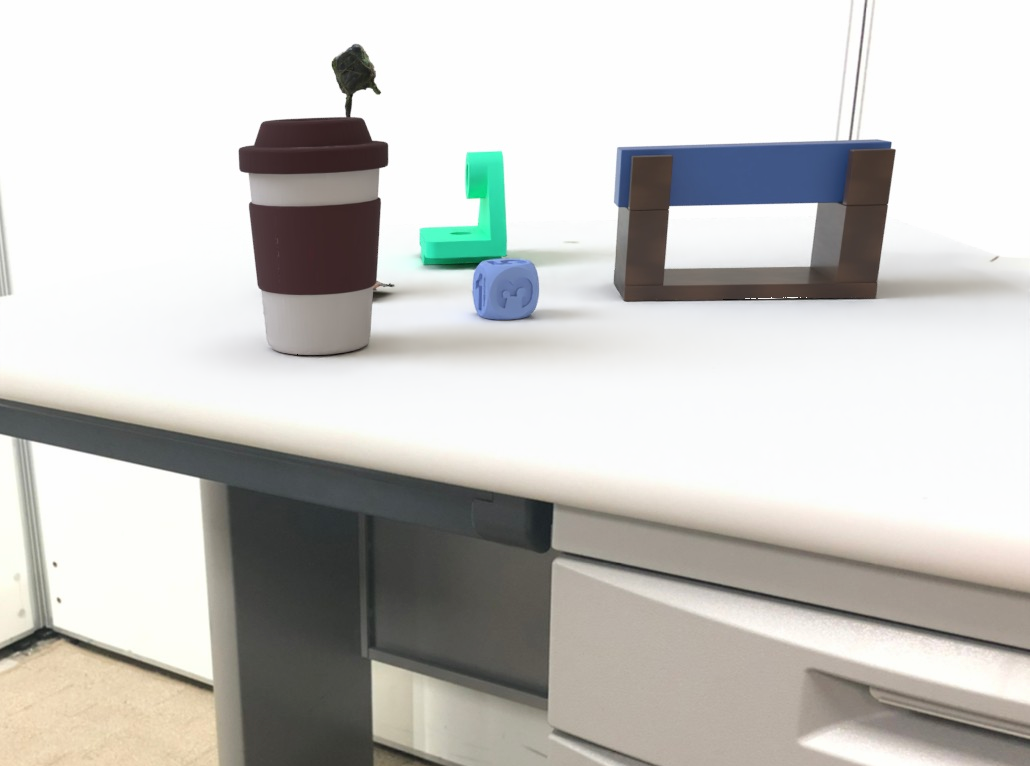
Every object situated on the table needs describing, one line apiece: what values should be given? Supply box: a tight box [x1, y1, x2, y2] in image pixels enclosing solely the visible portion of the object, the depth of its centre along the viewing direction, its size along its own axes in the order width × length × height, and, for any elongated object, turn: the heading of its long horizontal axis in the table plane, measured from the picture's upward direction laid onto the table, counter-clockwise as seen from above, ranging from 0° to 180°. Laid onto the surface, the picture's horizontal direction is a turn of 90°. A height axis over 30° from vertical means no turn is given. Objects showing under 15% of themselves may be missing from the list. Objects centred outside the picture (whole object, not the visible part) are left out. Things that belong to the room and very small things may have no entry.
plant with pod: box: [331, 43, 395, 292], centre depth 100 cm, size 8×11×20 cm
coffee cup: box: [238, 116, 389, 356], centre depth 81 cm, size 10×10×15 cm
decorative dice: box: [472, 258, 540, 321], centre depth 91 cm, size 4×4×4 cm
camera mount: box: [419, 150, 508, 266], centre depth 118 cm, size 12×8×10 cm, turn 178°
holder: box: [613, 147, 897, 302], centre depth 96 cm, size 19×9×11 cm, turn 81°
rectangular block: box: [613, 138, 893, 208], centre depth 95 cm, size 20×4×4 cm, turn 81°
